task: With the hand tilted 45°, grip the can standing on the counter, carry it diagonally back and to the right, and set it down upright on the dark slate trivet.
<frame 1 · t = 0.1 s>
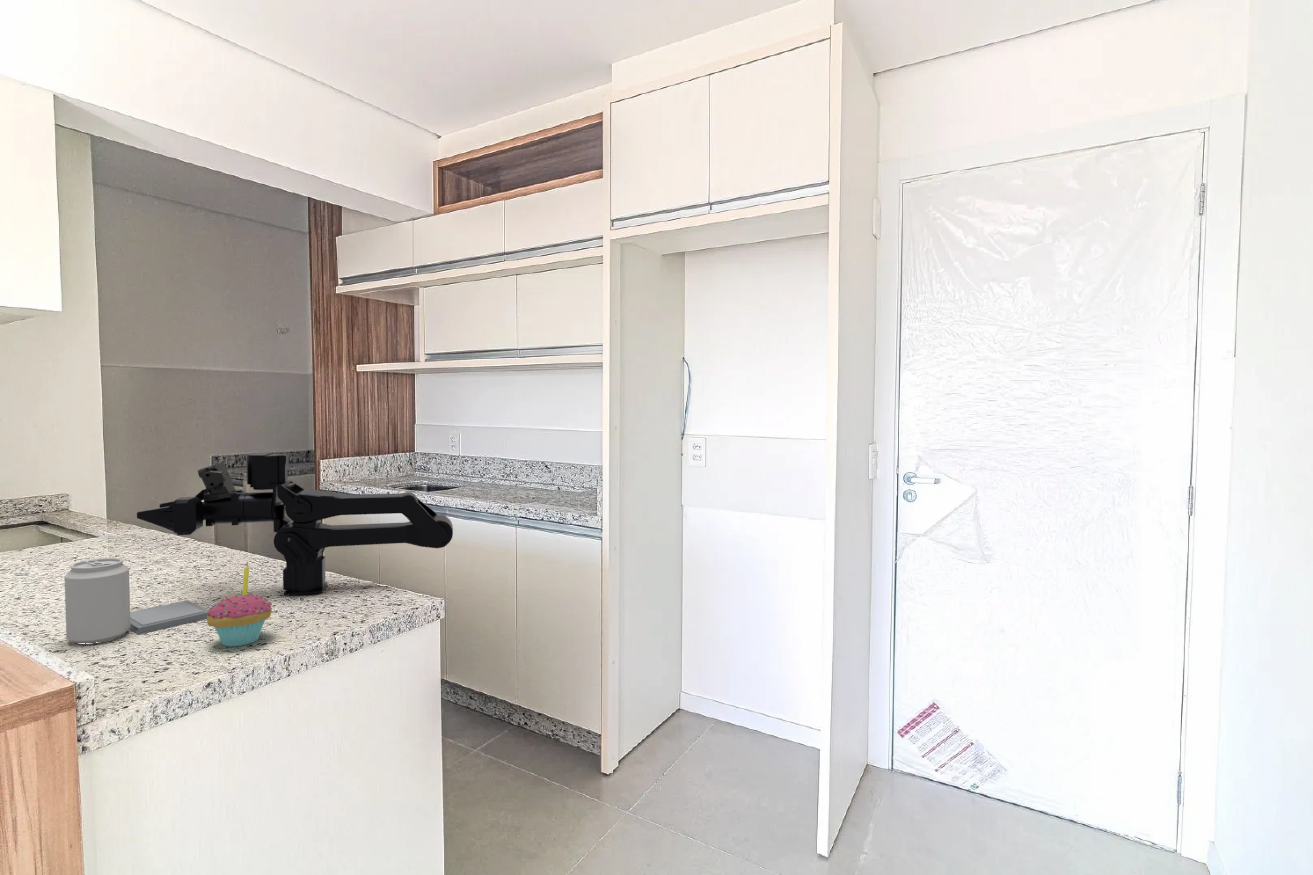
hand: (149, 510, 116), 17 cm above the counter, tool horizontal, fingers open, 9 cm apart
can: (99, 638, 99), on the counter
cupcake: (241, 642, 99), on the counter
trivet: (164, 619, 107), on the counter
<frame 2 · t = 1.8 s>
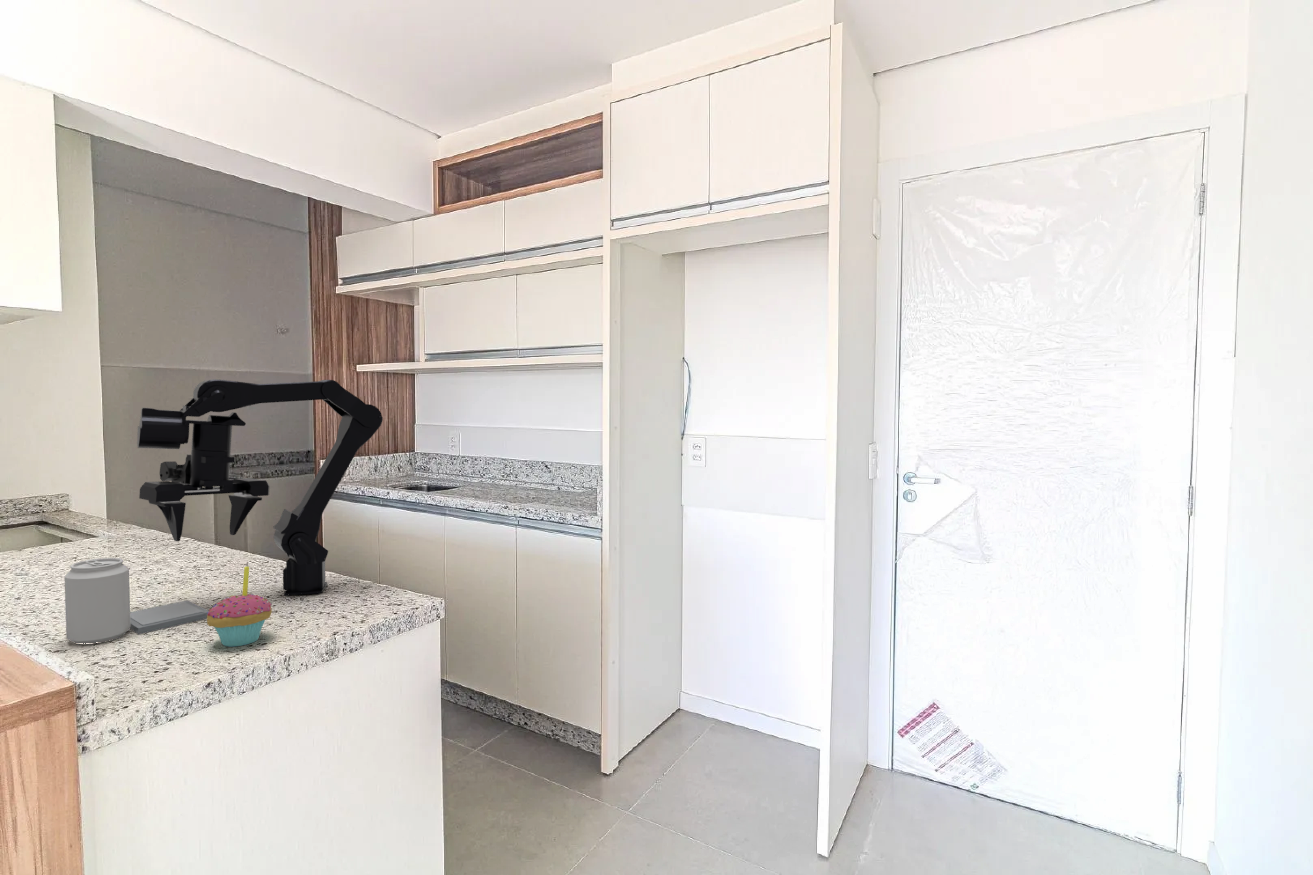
hand: (205, 537, 113), 12 cm above the counter, tool pointing down, fingers open, 9 cm apart
nothing on the counter moved.
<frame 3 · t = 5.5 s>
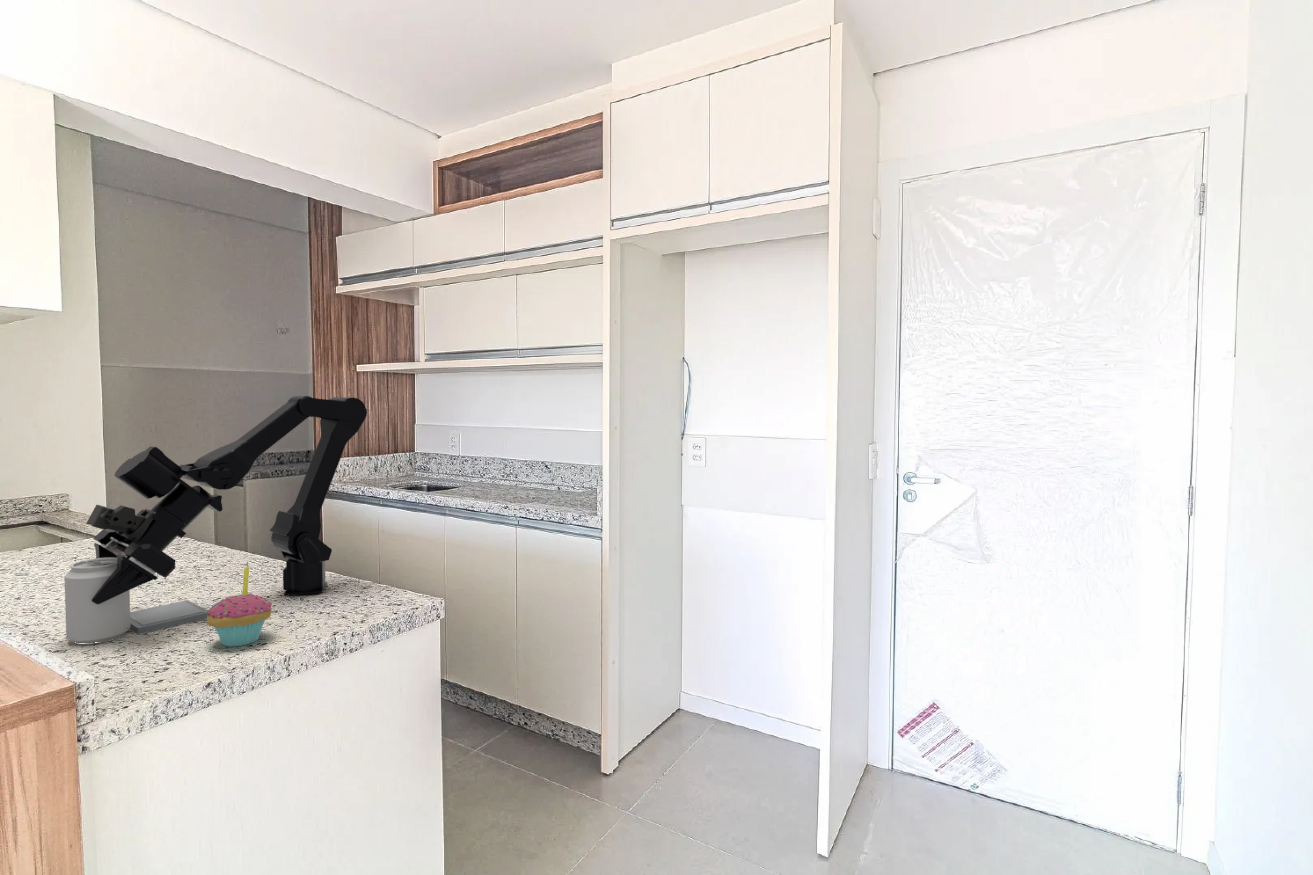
hand: (86, 597, 97), 7 cm above the counter, tool tilted 45°, fingers closed on can, 7 cm apart
can: (99, 638, 99), on the counter, touching gripper
everything else where it was.
when the fingers open (8 cm above the counter, at t = 9.0 s): can stays where it is, resting on trivet.
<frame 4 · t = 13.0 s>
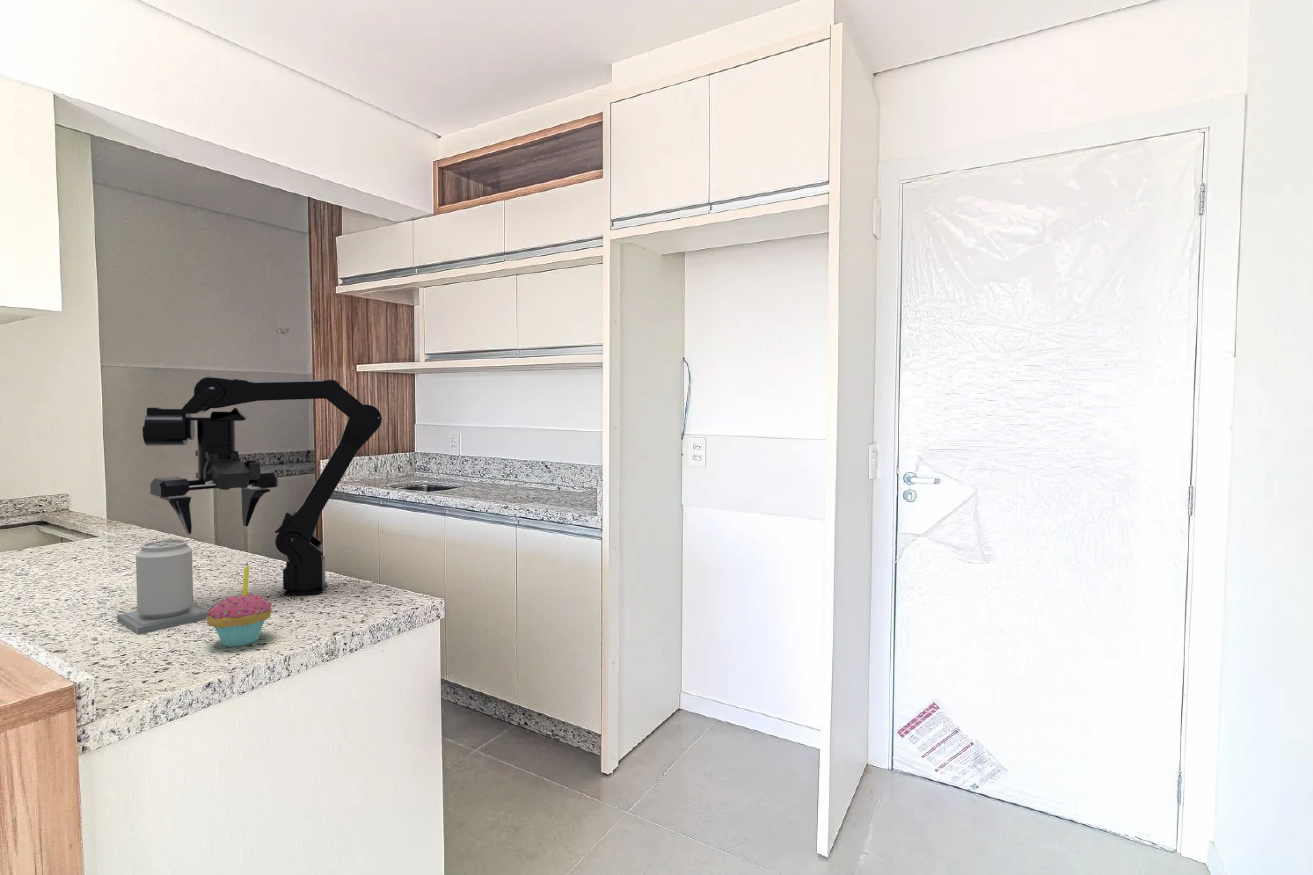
hand: (218, 529, 118), 13 cm above the counter, tool pointing down, fingers open, 9 cm apart
can: (166, 613, 108), point 1 cm above the counter, touching trivet
everything else where it was.
at the end: can inside the target area on the trivet (0.2 cm from its centre), point 0.9 cm above the trivet's base; can tilted 0°; the gripper is holding nothing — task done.
